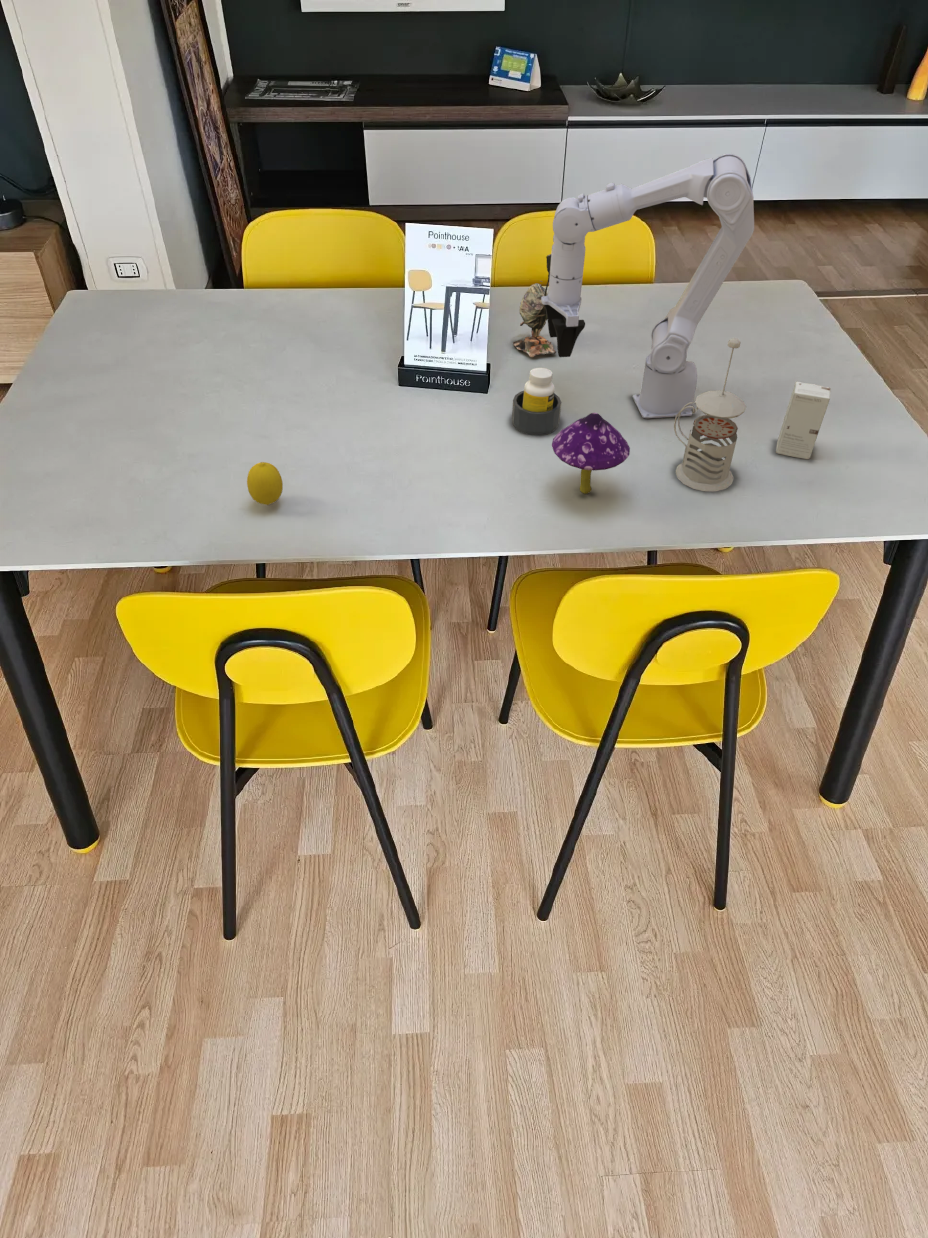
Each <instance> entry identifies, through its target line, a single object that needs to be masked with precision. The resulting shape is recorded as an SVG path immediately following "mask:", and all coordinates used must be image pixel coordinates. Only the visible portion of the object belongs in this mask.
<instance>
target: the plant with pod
mask: <svg viewBox="0 0 928 1238" xmlns="http://www.w3.org/2000/svg"><path fill="white" fill-rule="evenodd" d="M545 258H546V271H547V282H546V286H545V288H544V287H543V286H542V284H540V283H537V282H536V283H533V284H531V285H530V287H529V288H527V290H526V291H525V293H524V295H523V297H522V298H521V302H520V305H519V310H518V311H519V315H520V317H521V319H522V321H521V322H520V323H519V326H520V327H523V326H524V325H526V326H527V327H529V328H530V329H531V336H526V337H524V339H523V340H522V339H519V340H517V341H512V345H513V346H514V347H515V348H516V350H517V351H518V350H519V351H523V353H526V354H527V355H528V356H529V357H530V358H534V357H537V356H538V355H545V354H546V355H550V354H551V355H555V354H556V353H558V350H557V351H556V350H555V348H554V344H553V343H552V342H551V341H550V340H549V339H547V338H545V337H543V336H541V335H540V333H541V332H542V330H543V328H544V327H545V325H546V324H547V321H548V320H547V314H546V310H545V306H544V304H542V302H541V297H542V296H547V295H548V288H549V279H550V265H551V253H550V254H547V255H546V256H545ZM540 282H541V283H542V282H543V280H540Z"/></svg>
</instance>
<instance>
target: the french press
mask: <svg viewBox="0 0 928 1238" xmlns="http://www.w3.org/2000/svg"><path fill="white" fill-rule="evenodd" d="M727 347H729V348H731V353H730V357H729V361H728V366H727V371H726V375H725V378H724V384H723V389H720V390H719V389H718V390H717V389H716V390H708V391H704V392H701V393H700V394H699V395H697V396H696V398H695V400H694V401H693V402H690V403H688V404H686V405H685V406H684V407H683V408H682V409H681V410H680V412H679V413H678V414H677V416H676V417H674V423H673V430H674V433H675V434H674V435H675V436H676V438H677V439H678V441H680V442H681V443H682V444H683V446H685V449H684V454H683V459H682V462H681V463H680V464H678V465H676V469H675V471H674V472H675V475H676V478H677V479H678V480H679V481H680V482H681V483H682V484H683V485H684V486H687V487H688V488H690V489H693V490H696V491H701V492H719V491H723V490H727V488H729V487H730V486H731V485H733V481H734V476H733V473H732V471H731V470H730V469H731V465H732V461H733V457H734V452H735V449H736V446H737V440H738V434H737V432H738V429H739V428H738V425H737V423H736V422H735V421H733V420H732V419H734V418H735V419H736V418H739V417H740V416H741V415H743V414H744V413H745V411H746V410H747V405H746V403H745V400H743V399H741V397H739V396H738V395H736V394H735V393H733V392H730V391H727V390H726V391H725V389H726V384H727V381H728V377H729V371H730V367H731V362H732V358H733V354H734V350H735V349H739V348H741V341H740V339H739V338H738V337H732V338H730V339H728V341H727ZM690 404H695V405H696V407H695V406H693V405H692V406H688V405H690ZM686 406H688V407H686ZM691 407H692V415H693V414H694V415H695V414H696V413H697V412H698V410H699V411H701V412H702V414H703V415H699V416H698V417H697V418H695V419H694V421H693V426H692V429H690V430H689V434H688V437H687V436H686V435H685V434H684V432H683V431H682V429H681V425H680V419H681V416H680V415H681V412H682V411H683V410H685V409H686V408H691ZM678 415H679V416H678ZM677 426H678V431H679V432H680V434H681V435H682V436H683V438H685V439H686V441H687V444H686V443H685V442H684V441H683V440H682V439H681V438H680V436H679V435H678V433H677ZM703 436H704V437H703ZM701 437H703V438H701ZM728 439H729V440H730V442H731V443H730V442H729V440H728ZM722 440H723V442H722ZM708 441H712V442H715V443H718V444H719V445H716V444H715V443H711V442H708ZM703 442H708V443H703ZM724 443H725V444H726V445H725V444H724ZM723 458H724V459H723Z"/></svg>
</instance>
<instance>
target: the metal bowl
mask: <svg viewBox="0 0 928 1238" xmlns="http://www.w3.org/2000/svg"><path fill="white" fill-rule="evenodd" d="M523 397H524V390H522V391H519V392H518V393H516V394H515V395H514V396H513V399H512V408H511V424H512V426H513V427H514V428H515V430H517V431H518V432H520V433H523V434H525V435H531V436H544V435H550V434H552V433H554V432H555V431H556V430H558V428H559V426H560V422H561V412H562V399H561V398H560V396H559V395H558V394H556V393H555V392H554V399H553V408H552V410H549V411H546V412H534V411H528V410H526V409H523V408H522V407H523Z"/></svg>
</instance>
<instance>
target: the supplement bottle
mask: <svg viewBox="0 0 928 1238" xmlns="http://www.w3.org/2000/svg"><path fill="white" fill-rule="evenodd" d="M528 375H529V378H528V379H529V380H527V381H526V382H525V384H524V388H523V391H524V397H523V407H522V408H523V409H526V410H528V411H534V412H546V411H549V410H552V408H553V399H554V393H555V389H556V388H555V385H554V383H553V382H552V380H553V372H552V370H550V369H549V368H546V367H533V368H532V369H531V370H530V371H529V374H528Z"/></svg>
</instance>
